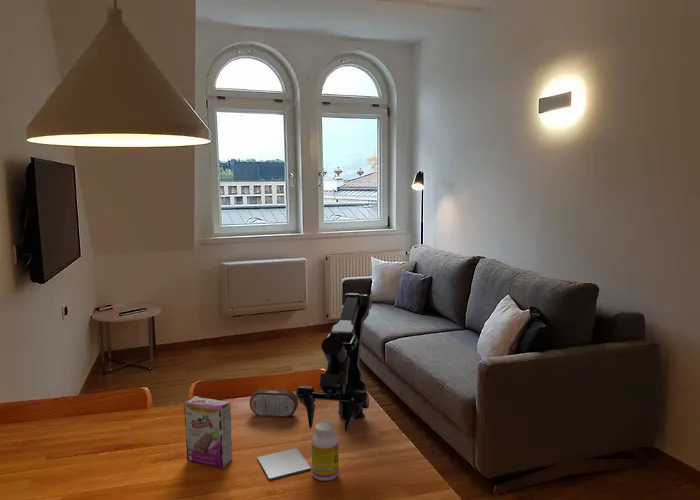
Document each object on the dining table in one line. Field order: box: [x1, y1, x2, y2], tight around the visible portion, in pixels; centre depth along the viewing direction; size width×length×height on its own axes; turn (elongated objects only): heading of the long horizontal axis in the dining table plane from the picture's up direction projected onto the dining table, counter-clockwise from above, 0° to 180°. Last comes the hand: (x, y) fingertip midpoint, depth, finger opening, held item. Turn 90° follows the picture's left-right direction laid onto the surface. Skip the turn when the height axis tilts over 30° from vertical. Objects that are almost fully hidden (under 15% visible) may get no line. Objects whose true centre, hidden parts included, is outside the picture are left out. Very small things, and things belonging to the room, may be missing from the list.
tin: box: [249, 388, 299, 418], centre depth 164 cm, size 15×3×8 cm, turn 84°
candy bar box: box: [183, 395, 233, 469], centre depth 138 cm, size 11×5×16 cm, turn 71°
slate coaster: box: [256, 447, 312, 481], centre depth 137 cm, size 11×11×1 cm
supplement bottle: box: [311, 421, 340, 482], centre depth 131 cm, size 7×7×13 cm
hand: (327, 429), depth 134 cm, fingers open, 9 cm apart
